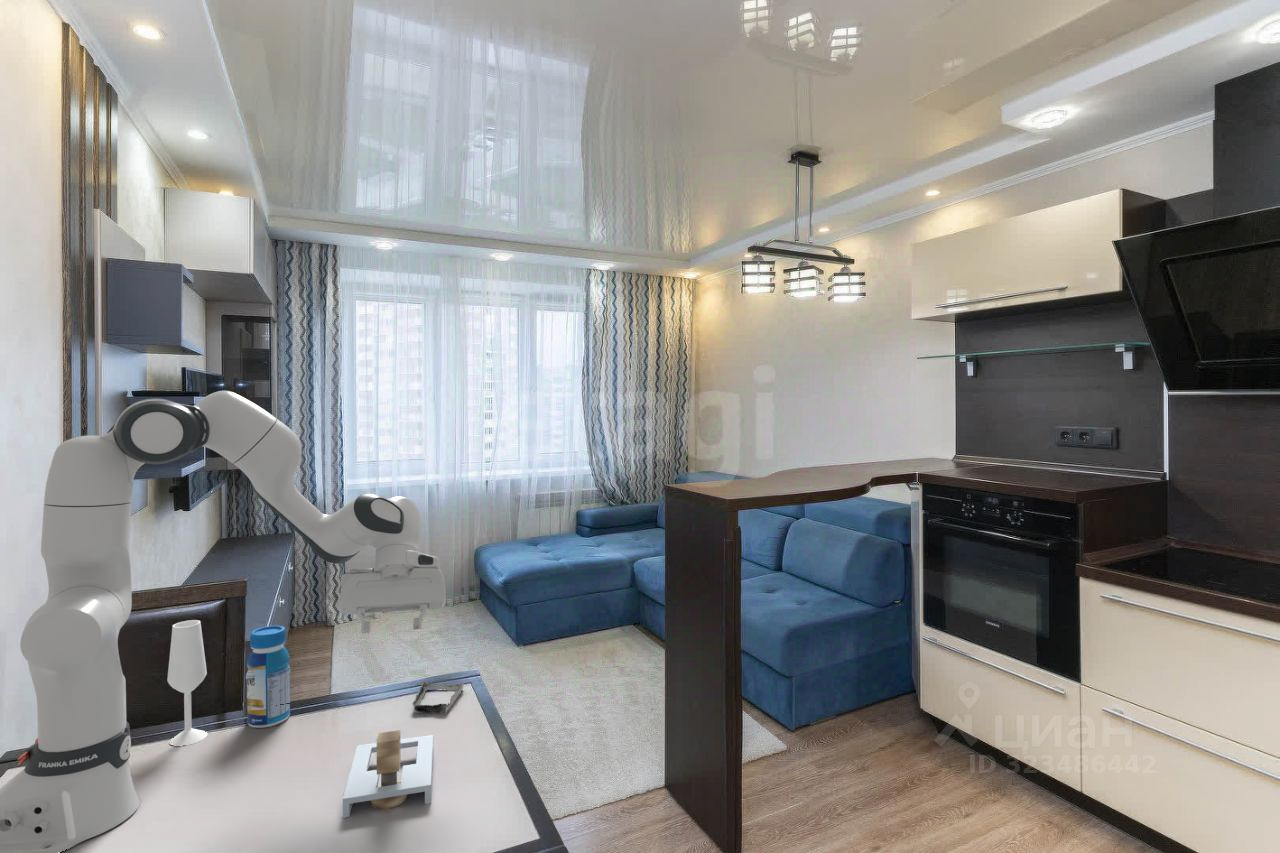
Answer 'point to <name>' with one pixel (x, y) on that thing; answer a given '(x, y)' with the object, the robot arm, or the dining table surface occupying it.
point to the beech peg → (388, 767)
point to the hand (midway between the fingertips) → (391, 630)
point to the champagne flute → (187, 673)
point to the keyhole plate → (366, 782)
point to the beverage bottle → (268, 678)
